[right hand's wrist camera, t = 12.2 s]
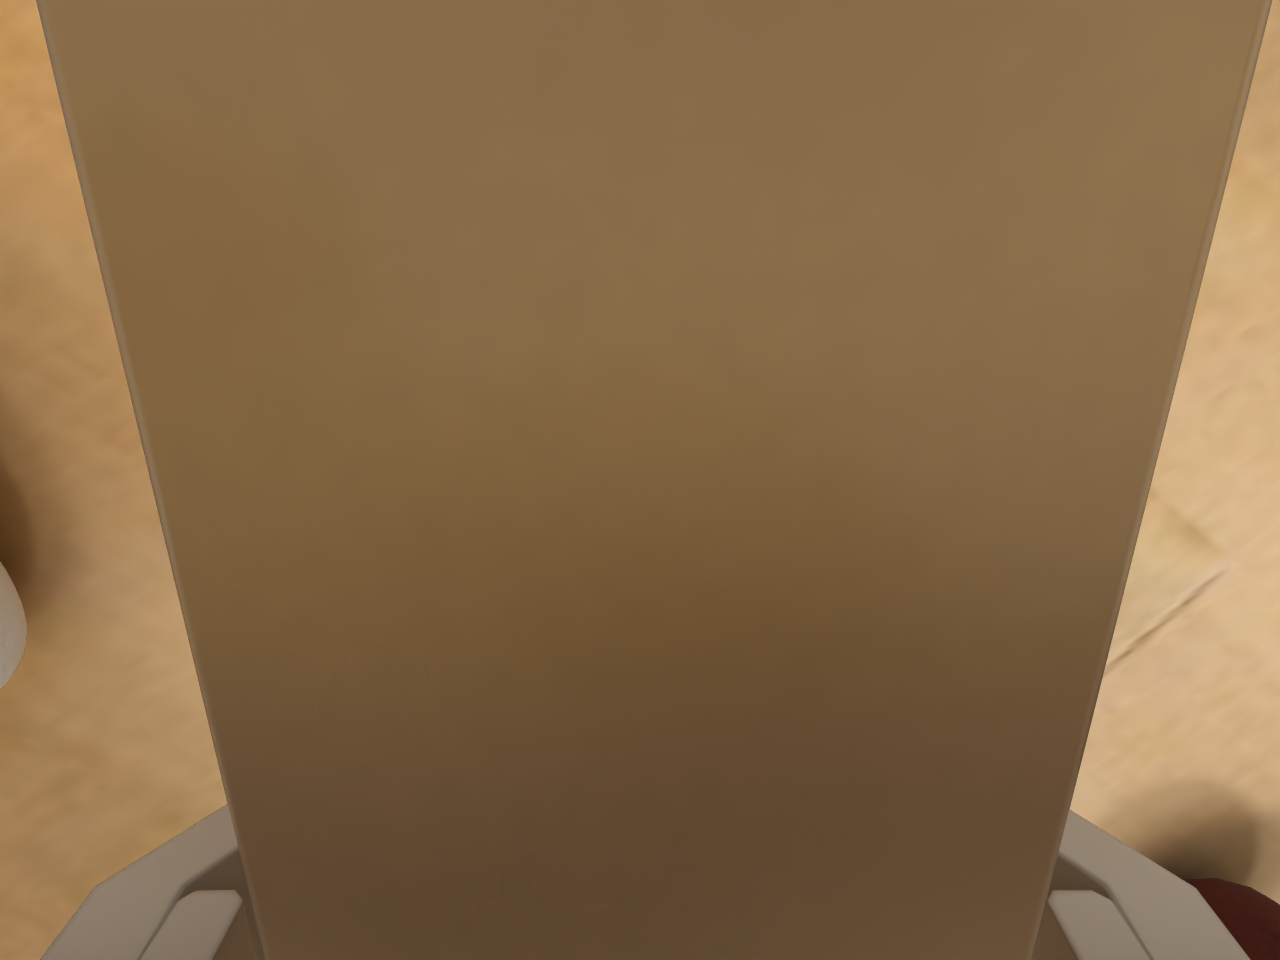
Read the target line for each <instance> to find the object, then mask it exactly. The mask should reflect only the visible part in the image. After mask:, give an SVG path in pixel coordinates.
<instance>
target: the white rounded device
mask: <svg viewBox="0 0 1280 960" xmlns="http://www.w3.org/2000/svg"><path fill="white" fill-rule="evenodd" d="M26 641H27V623H26V616H25V613H24V609H23V606H22V603H21V600H20V597H19V595H18V592H17V590H16V588H15V586H14V584H13V582H12V580H11V578H10V577H9V575H8V573H7V571H6V569H5V568H4V566H3V565H2V563H1V562H0V689H1V688H2V687H3V686H4V685H5V684H6V682H7V681H8V680H9V679H10V677H11V676H12V674H13V673H14V671H15V670H16V668H17V666H18V664H19V662H20V661H21V659H22V656H23V653H24V650H25V647H26Z"/></svg>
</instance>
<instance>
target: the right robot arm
mask: <svg viewBox="0 0 1280 960" xmlns="http://www.w3.org/2000/svg"><path fill="white" fill-rule="evenodd" d="M40 960H265V957H264V953H263V949H262V945H261V941H260V936H259V932H258V928H257V924H256V920H255V915H254V911H253V907H252V903H251V899H250V894H249V890H248V886H247V882H246V878H245V874H244V869H243V865H242V861H241V857H240V853H239V848H238V844H237V840H236V836H235V832H234V827H233V823H232V819H231V815H230V811H229V806H228V804H227V805H225V806H223V807H222V808H220V809H219V810H217V811H215V812H214V813H212V814H211V815H209V816H207V817H206V818H204V819H203V820H201V821H199V822H198V823H196V824H195V825H193V826H191V827H190V828H188V829H187V830H185V831H183V832H182V833H180V834H179V835H177V836H176V837H174V838H172V839H171V840H169V841H168V842H166V843H164V844H163V845H161V846H160V847H158V848H156V849H155V850H153V851H152V852H150V853H148V854H147V855H145V856H144V857H142V858H140V859H139V860H137V861H136V862H134V863H132V864H131V865H129V866H128V867H126V868H124V869H123V870H121V871H120V872H118V873H116V874H115V875H113V876H112V877H110V878H108V879H107V880H105V881H104V882H102V883H100V884H99V885H97V886H96V887H95V888H94V889H93V890H92V892H91V893H90V894H89V896H88V897H87V898H86V900H85V901H84V902H83V904H82V905H81V906H80V908H79V909H78V910H77V912H76V913H75V914H74V916H73V917H72V918H71V920H70V921H69V922H68V923H67V925H66V926H65V927H64V929H63V930H62V931H61V933H60V934H59V935H58V937H57V938H56V939H55V941H54V942H53V943H52V945H51V946H50V947H49V949H48V950H47V951H46V953H45V954H44V955H43V957H42V958H41V959H40ZM1032 960H1250V958H1249V957H1248V956H1247V954H1246V953H1245V952H1244V951H1243V949H1242V948H1241V947H1240V945H1239V944H1238V943H1237V941H1236V940H1235V939H1234V937H1233V936H1232V935H1231V934H1230V932H1229V931H1228V930H1227V928H1226V927H1225V926H1224V924H1223V923H1222V922H1221V920H1220V919H1219V918H1218V917H1217V915H1216V914H1215V913H1214V911H1213V910H1212V909H1211V907H1210V906H1209V905H1208V903H1207V902H1206V901H1205V899H1204V898H1203V897H1202V896H1201V894H1200V893H1199V892H1198V890H1197V889H1196V888H1195V887H1193V886H1192V885H1190V884H1188V883H1187V882H1185V881H1184V880H1182V879H1180V878H1179V877H1177V876H1176V875H1174V874H1172V873H1171V872H1169V871H1168V870H1166V869H1164V868H1163V867H1161V866H1160V865H1158V864H1156V863H1155V862H1153V861H1152V860H1150V859H1148V858H1147V857H1145V856H1143V855H1142V854H1140V853H1139V852H1137V851H1135V850H1134V849H1132V848H1131V847H1129V846H1127V845H1126V844H1124V843H1123V842H1121V841H1119V840H1118V839H1116V838H1115V837H1113V836H1111V835H1110V834H1108V833H1107V832H1105V831H1103V830H1102V829H1100V828H1099V827H1097V826H1095V825H1094V824H1092V823H1090V822H1089V821H1087V820H1086V819H1084V818H1082V817H1081V816H1079V815H1078V814H1076V813H1074V812H1073V811H1071V810H1070V809H1069V813H1068V817H1067V821H1066V825H1065V829H1064V833H1063V837H1062V841H1061V844H1060V848H1059V852H1058V856H1057V860H1056V864H1055V868H1054V872H1053V876H1052V880H1051V884H1050V888H1049V892H1048V896H1047V900H1046V904H1045V908H1044V912H1043V916H1042V920H1041V924H1040V928H1039V932H1038V936H1037V940H1036V944H1035V948H1034V952H1033V956H1032Z"/></svg>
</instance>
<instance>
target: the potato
mask: <svg viewBox="0 0 1280 960" xmlns="http://www.w3.org/2000/svg"><path fill="white" fill-rule="evenodd" d="M1184 881H1185V882H1187V883H1188V884H1190V885H1192V886H1193V887H1195V888H1196V889H1197V890H1198V892H1199V893H1200V894H1201V896H1202V897H1203V898H1204V899H1205V901H1206V902H1207V903H1208V905H1209V906H1210V907H1211V909H1212V910H1213V911H1214V913H1215V914H1216V915H1217V917H1218V918H1219V919H1220V920H1221V922H1222V923H1223V924H1224V926H1225V927H1226V928H1227V930H1228V931H1229V932H1230V934H1231V935H1232V936H1233V937H1234V939H1235V940H1236V941H1237V943H1238V944H1239V945H1240V947H1241V948H1242V949H1243V951H1244V952H1245V953H1246V954H1247V956H1248V957H1249V958H1250V960H1280V905H1279V904H1278V903H1276V902H1275V901H1273V900H1271V899H1270V898H1268V897H1266V896H1265V895H1263V894H1261V893H1259V892H1258V891H1256V890H1254V889H1252V888H1251V887H1247V886H1243V885H1240V884H1236V883H1232V882H1228V881H1224V880H1220V879H1217V878H1210V879H1189V880H1184Z"/></svg>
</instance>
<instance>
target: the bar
mask: <svg viewBox="0 0 1280 960" xmlns="http://www.w3.org/2000/svg"><path fill="white" fill-rule="evenodd" d="M36 1H37V6H38V10H39V14H40V18H41V22H42V26H43V31H44V35H45V39H46V43H47V47H48V52H49V56H50V60H51V64H52V68H53V73H54V77H55V81H56V85H57V89H58V94H59V98H60V102H61V106H62V110H63V115H64V119H65V123H66V127H67V131H68V136H69V140H70V144H71V148H72V152H73V156H74V161H75V165H76V169H77V173H78V177H79V182H80V186H81V190H82V194H83V198H84V203H85V207H86V211H87V215H88V219H89V224H90V228H91V232H92V236H93V240H94V245H95V249H96V253H97V257H98V261H99V265H100V270H101V274H102V278H103V282H104V286H105V291H106V295H107V299H108V303H109V307H110V312H111V316H112V320H113V324H114V328H115V333H116V337H117V341H118V345H119V349H120V354H121V358H122V362H123V366H124V370H125V375H126V379H127V383H128V387H129V391H130V395H131V400H132V404H133V408H134V412H135V416H136V421H137V425H138V429H139V433H140V437H141V442H142V446H143V450H144V454H145V458H146V463H147V467H148V471H149V475H150V479H151V484H152V488H153V492H154V496H155V500H156V505H157V509H158V513H159V517H160V521H161V525H162V530H163V534H164V538H165V542H166V546H167V551H168V555H169V559H170V563H171V567H172V572H173V576H174V580H175V584H176V588H177V593H178V597H179V601H180V605H181V609H182V614H183V618H184V622H185V626H186V630H187V635H188V639H189V643H190V647H191V651H192V655H193V660H194V664H195V668H196V672H197V676H198V681H199V685H200V689H201V693H202V697H203V702H204V706H205V710H206V714H207V718H208V723H209V727H210V731H211V735H212V739H213V744H214V748H215V752H216V756H217V760H218V764H219V769H220V773H221V777H222V781H223V785H224V790H225V794H226V798H227V802H228V806H229V811H230V815H231V819H232V823H233V827H234V832H235V836H236V840H237V844H238V848H239V853H240V857H241V861H242V865H243V869H244V874H245V878H246V882H247V886H248V890H249V894H250V899H251V903H252V907H253V911H254V915H255V920H256V924H257V928H258V932H259V936H260V941H261V945H262V949H263V953H264V957H265V960H1032V956H1033V952H1034V948H1035V944H1036V940H1037V936H1038V932H1039V928H1040V924H1041V920H1042V916H1043V912H1044V908H1045V904H1046V900H1047V896H1048V892H1049V888H1050V884H1051V880H1052V876H1053V872H1054V868H1055V864H1056V860H1057V856H1058V852H1059V848H1060V844H1061V841H1062V837H1063V833H1064V829H1065V825H1066V821H1067V817H1068V813H1069V809H1070V805H1071V801H1072V797H1073V793H1074V789H1075V785H1076V781H1077V777H1078V773H1079V769H1080V765H1081V761H1082V757H1083V753H1084V749H1085V745H1086V741H1087V737H1088V733H1089V729H1090V725H1091V721H1092V717H1093V713H1094V709H1095V705H1096V701H1097V697H1098V693H1099V689H1100V685H1101V681H1102V677H1103V673H1104V669H1105V665H1106V661H1107V657H1108V653H1109V649H1110V645H1111V641H1112V637H1113V633H1114V629H1115V625H1116V621H1117V617H1118V613H1119V609H1120V605H1121V601H1122V597H1123V593H1124V589H1125V585H1126V581H1127V577H1128V573H1129V569H1130V565H1131V561H1132V557H1133V553H1134V549H1135V545H1136V541H1137V537H1138V533H1139V529H1140V525H1141V521H1142V518H1143V514H1144V510H1145V506H1146V502H1147V498H1148V494H1149V490H1150V486H1151V482H1152V478H1153V474H1154V470H1155V466H1156V462H1157V458H1158V454H1159V450H1160V446H1161V442H1162V438H1163V434H1164V430H1165V426H1166V422H1167V418H1168V414H1169V410H1170V406H1171V402H1172V398H1173V394H1174V390H1175V386H1176V382H1177V378H1178V374H1179V370H1180V366H1181V362H1182V358H1183V354H1184V350H1185V346H1186V342H1187V338H1188V334H1189V330H1190V326H1191V322H1192V318H1193V314H1194V310H1195V306H1196V302H1197V298H1198V294H1199V290H1200V286H1201V282H1202V278H1203V274H1204V270H1205V266H1206V262H1207V258H1208V254H1209V250H1210V246H1211V242H1212V238H1213V234H1214V230H1215V226H1216V222H1217V218H1218V214H1219V210H1220V206H1221V202H1222V198H1223V194H1224V191H1225V187H1226V183H1227V179H1228V175H1229V171H1230V167H1231V163H1232V159H1233V155H1234V151H1235V147H1236V143H1237V139H1238V135H1239V131H1240V127H1241V123H1242V119H1243V115H1244V111H1245V107H1246V103H1247V99H1248V95H1249V91H1250V87H1251V83H1252V79H1253V75H1254V71H1255V67H1256V63H1257V59H1258V55H1259V51H1260V47H1261V43H1262V39H1263V35H1264V31H1265V27H1266V23H1267V19H1268V15H1269V11H1270V7H1271V3H1272V0H36Z"/></svg>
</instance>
